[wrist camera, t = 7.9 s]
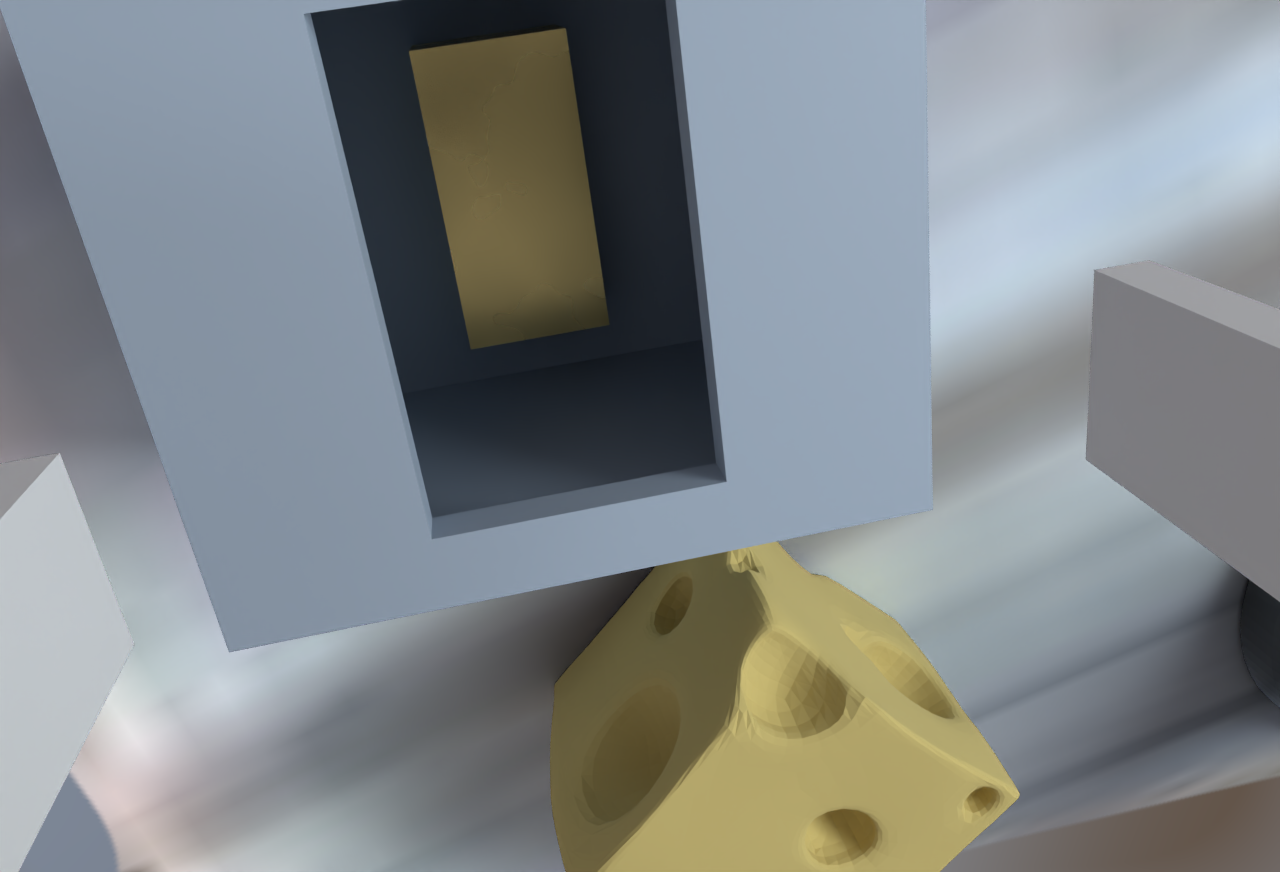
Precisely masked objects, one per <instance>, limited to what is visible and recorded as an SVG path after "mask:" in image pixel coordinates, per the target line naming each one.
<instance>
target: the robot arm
mask: <svg viewBox="0 0 1280 872" xmlns="http://www.w3.org/2000/svg"><path fill="white" fill-rule="evenodd" d="M1086 460H1087V461H1088V462H1090V463H1091V464H1093V465H1094V466H1095V467H1097V468H1098V469H1099V470H1101V471H1102V472H1103V473H1105V474H1106V475H1108V476H1109V477H1110V478H1112V479H1113V480H1114V481H1116V482H1117V483H1118V484H1120V485H1121V486H1123V487H1124V488H1125V489H1127V490H1128V491H1129V492H1131V493H1132V494H1133V495H1135V496H1136V497H1138V498H1139V499H1140V500H1142V501H1143V502H1144V503H1146V504H1147V505H1148V506H1150V507H1151V508H1153V509H1154V510H1155V511H1157V512H1158V513H1159V514H1161V515H1162V516H1163V517H1165V518H1166V519H1168V520H1169V521H1170V522H1172V523H1173V524H1174V525H1176V526H1177V527H1178V528H1180V529H1181V530H1182V531H1184V532H1185V533H1187V534H1188V535H1189V536H1191V537H1192V538H1193V539H1195V540H1196V541H1197V542H1199V543H1200V544H1202V545H1203V546H1204V547H1206V548H1207V549H1208V550H1210V551H1211V552H1212V553H1214V554H1215V555H1217V556H1218V557H1219V558H1221V559H1222V560H1223V561H1225V562H1226V563H1227V564H1229V565H1230V566H1232V567H1233V568H1234V569H1236V570H1237V571H1238V572H1240V573H1241V574H1242V575H1244V576H1245V577H1247V578H1248V579H1249V583H1248V586H1247V589H1246V593H1245V597H1244V602H1243V608H1242V615H1241V643H1242V649H1243V655H1244V658H1245V662H1246V665H1247V667H1248V670H1249V672H1250V674H1251V676H1252V678H1253V680H1254V681H1255V683H1256V684H1257V686H1258V687H1259V688H1260V690H1261V691H1262V692H1263V693H1264V694H1265V695H1266V696H1267V697H1268V698H1269V699H1270V700H1271V701H1272V702H1274V703H1275V704H1276V705H1277V706H1278V707H1279V708H1280V309H1277V308H1275V307H1272V306H1270V305H1267V304H1264V303H1262V302H1259V301H1256V300H1254V299H1251V298H1248V297H1246V296H1243V295H1240V294H1238V293H1235V292H1232V291H1230V290H1227V289H1224V288H1222V287H1219V286H1216V285H1214V284H1211V283H1208V282H1206V281H1203V280H1200V279H1198V278H1195V277H1192V276H1190V275H1187V274H1184V273H1182V272H1179V271H1176V270H1174V269H1171V268H1168V267H1166V266H1163V265H1160V264H1158V263H1155V262H1152V261H1150V260H1148V261H1142V262H1137V263H1131V264H1125V265H1120V266H1114V267H1108V268H1103V269H1097V270H1094V290H1093V312H1092V334H1091V356H1090V378H1089V400H1088V422H1087V444H1086ZM133 646H134V642H133V639H132V637H131V634H130V632H129V629H128V627H127V624H126V621H125V619H124V616H123V614H122V611H121V609H120V606H119V604H118V601H117V598H116V596H115V593H114V591H113V588H112V586H111V583H110V580H109V578H108V575H107V573H106V570H105V568H104V565H103V563H102V560H101V557H100V555H99V552H98V550H97V547H96V545H95V542H94V540H93V537H92V534H91V532H90V529H89V527H88V524H87V522H86V519H85V517H84V514H83V511H82V509H81V506H80V504H79V501H78V499H77V496H76V494H75V491H74V488H73V486H72V483H71V481H70V478H69V476H68V473H67V471H66V468H65V465H64V463H63V460H62V458H61V455H60V453H56V454H51V455H45V456H39V457H34V458H28V459H22V460H17V461H11V462H5V463H0V872H18V871H19V869H20V867H21V865H22V864H23V862H24V860H25V858H26V856H27V854H28V852H29V850H30V848H31V846H32V844H33V842H34V840H35V838H36V836H37V834H38V832H39V830H40V828H41V826H42V824H43V822H44V820H45V818H46V817H47V815H48V813H49V811H50V809H51V807H52V805H53V803H54V801H55V799H56V797H57V795H58V793H59V791H60V789H61V787H62V785H63V783H64V781H65V779H66V777H67V775H68V774H69V772H70V770H71V768H72V766H73V764H74V762H75V760H76V758H77V756H78V754H79V752H80V750H81V748H82V746H83V744H84V742H85V740H86V738H87V736H88V734H89V732H90V730H91V729H92V727H93V725H94V723H95V721H96V719H97V717H98V715H99V713H100V711H101V709H102V707H103V705H104V703H105V701H106V699H107V697H108V695H109V693H110V691H111V689H112V687H113V685H114V684H115V682H116V680H117V678H118V676H119V674H120V672H121V670H122V668H123V666H124V664H125V662H126V660H127V658H128V656H129V654H130V652H131V650H132V648H133Z"/></svg>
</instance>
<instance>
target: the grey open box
mask: <svg viewBox="0 0 1280 872" xmlns="http://www.w3.org/2000/svg"><path fill="white" fill-rule="evenodd" d="M0 9H1V12H2V15H3V18H4V21H5V24H6V26H7V29H8V32H9V35H10V38H11V40H12V43H13V46H14V49H15V52H16V54H17V57H18V60H19V63H20V66H21V69H22V71H23V74H24V77H25V80H26V83H27V85H28V88H29V91H30V94H31V97H32V99H33V102H34V105H35V108H36V111H37V114H38V116H39V119H40V122H41V125H42V128H43V130H44V133H45V136H46V139H47V142H48V144H49V147H50V150H51V153H52V156H53V158H54V161H55V164H56V167H57V170H58V173H59V175H60V178H61V181H62V184H63V187H64V189H65V192H66V195H67V198H68V201H69V203H70V206H71V209H72V212H73V215H74V218H75V220H76V223H77V226H78V229H79V232H80V234H81V237H82V240H83V243H84V246H85V248H86V251H87V254H88V257H89V260H90V263H91V265H92V268H93V271H94V274H95V277H96V279H97V282H98V285H99V288H100V291H101V293H102V296H103V299H104V302H105V305H106V307H107V310H108V313H109V316H110V319H111V322H112V324H113V327H114V330H115V333H116V336H117V338H118V341H119V344H120V347H121V350H122V352H123V355H124V358H125V361H126V364H127V367H128V369H129V372H130V375H131V378H132V381H133V383H134V386H135V389H136V392H137V395H138V397H139V400H140V403H141V406H142V409H143V412H144V414H145V417H146V420H147V423H148V426H149V428H150V431H151V434H152V437H153V440H154V442H155V445H156V448H157V451H158V454H159V456H160V459H161V462H162V465H163V468H164V471H165V473H166V476H167V479H168V482H169V485H170V487H171V490H172V493H173V496H174V499H175V501H176V504H177V507H178V510H179V513H180V516H181V518H182V521H183V524H184V527H185V530H186V532H187V535H188V538H189V541H190V544H191V546H192V549H193V552H194V555H195V558H196V561H197V563H198V566H199V569H200V572H201V575H202V577H203V580H204V583H205V586H206V589H207V591H208V594H209V597H210V600H211V603H212V605H213V608H214V611H215V614H216V617H217V620H218V622H219V625H220V628H221V631H222V634H223V636H224V639H225V642H226V645H227V648H228V650H229V652H233V651H238V650H243V649H248V648H253V647H258V646H263V645H268V644H273V643H278V642H283V641H287V640H292V639H297V638H302V637H307V636H312V635H317V634H322V633H327V632H332V631H337V630H342V629H347V628H352V627H357V626H362V625H367V624H371V623H376V622H381V621H386V620H391V619H396V618H401V617H406V616H411V615H416V614H421V613H426V612H431V611H436V610H441V609H446V608H450V607H455V606H460V605H465V604H470V603H475V602H480V601H485V600H490V599H495V598H500V597H505V596H510V595H515V594H520V593H525V592H529V591H534V590H539V589H544V588H549V587H554V586H559V585H564V584H569V583H574V582H579V581H584V580H589V579H594V578H599V577H604V576H608V575H613V574H618V573H623V572H628V571H633V570H638V569H643V568H648V567H653V566H658V565H663V564H668V563H673V562H678V561H683V560H687V559H692V558H697V557H702V556H707V555H712V554H717V553H722V552H727V551H732V550H737V549H742V548H747V547H752V546H757V545H762V544H766V543H771V542H776V541H781V540H786V539H791V538H796V537H801V536H806V535H811V534H816V533H821V532H826V531H831V530H836V529H841V528H846V527H850V526H855V525H860V524H865V523H870V522H875V521H880V520H885V519H890V518H895V517H900V516H905V515H910V514H915V513H920V512H925V511H929V510H933V492H932V419H931V346H930V273H929V200H928V127H927V54H926V0H0ZM553 24H556V25H558V26H561V27H564V28H566V33H567V40H568V47H569V54H570V60H571V67H572V74H573V81H574V87H575V94H576V101H577V108H578V115H579V121H580V128H581V135H582V142H583V148H584V155H585V162H586V169H587V175H588V182H589V189H590V196H591V203H592V209H593V216H594V223H595V230H596V236H597V243H598V250H599V257H600V263H601V270H602V277H603V284H604V290H605V297H606V304H607V311H608V318H609V324H610V325H606V326H601V327H595V328H590V329H584V330H578V331H573V332H567V333H561V334H556V335H550V336H545V337H539V338H533V339H528V340H522V341H516V342H511V343H505V344H500V345H494V346H488V347H483V348H477V349H471V348H470V343H469V338H468V334H467V329H466V324H465V319H464V314H463V309H462V305H461V300H460V295H459V290H458V285H457V281H456V276H455V271H454V266H453V261H452V257H451V252H450V247H449V242H448V237H447V233H446V228H445V223H444V218H443V213H442V209H441V204H440V199H439V194H438V189H437V184H436V180H435V175H434V170H433V165H432V160H431V156H430V151H429V146H428V141H427V136H426V132H425V127H424V122H423V117H422V112H421V108H420V103H419V98H418V93H417V88H416V84H415V79H414V74H413V69H412V64H411V59H410V55H409V50H410V48H411V47H412V45H417V44H423V43H430V42H437V41H444V40H451V39H457V38H464V37H471V36H478V35H485V34H491V33H498V32H505V31H512V30H519V29H525V28H532V27H539V26H546V25H553Z"/></svg>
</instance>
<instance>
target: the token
mask: <svg viewBox="0 0 1280 872" xmlns="http://www.w3.org/2000/svg"><path fill="white" fill-rule="evenodd" d="M409 55H410V59H411V64H412V69H413V74H414V79H415V84H416V88H417V93H418V98H419V103H420V108H421V112H422V117H423V122H424V127H425V132H426V136H427V141H428V146H429V151H430V156H431V160H432V165H433V170H434V175H435V180H436V184H437V189H438V194H439V199H440V204H441V209H442V213H443V218H444V223H445V228H446V233H447V237H448V242H449V247H450V252H451V257H452V261H453V266H454V271H455V276H456V281H457V285H458V290H459V295H460V300H461V305H462V309H463V314H464V319H465V324H466V329H467V334H468V338H469V343H470V348H471V349H477V348H483V347H488V346H494V345H500V344H505V343H511V342H516V341H522V340H528V339H533V338H539V337H545V336H550V335H556V334H561V333H567V332H573V331H578V330H584V329H590V328H595V327H601V326H606V325H610V324H609V318H608V311H607V304H606V297H605V290H604V284H603V277H602V270H601V263H600V257H599V250H598V243H597V236H596V230H595V223H594V216H593V209H592V203H591V196H590V189H589V182H588V175H587V169H586V162H585V155H584V148H583V142H582V135H581V128H580V121H579V115H578V108H577V101H576V94H575V87H574V81H573V74H572V67H571V60H570V54H569V47H568V40H567V33H566V28H564V27H561V26H558V25H556V24H553V25H546V26H539V27H532V28H525V29H519V30H512V31H505V32H498V33H491V34H485V35H478V36H471V37H464V38H457V39H451V40H444V41H437V42H430V43H423V44H417V45H412V47H411V48H410V50H409Z"/></svg>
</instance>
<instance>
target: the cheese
mask: <svg viewBox="0 0 1280 872" xmlns="http://www.w3.org/2000/svg"><path fill="white" fill-rule="evenodd" d="M550 787H551V804H552V812H553V819H554V824H555V830H556V834H557V839H558V844H559V848H560V852H561V856H562V860H563V864H564V867H565V871H566V872H940V871H941V870H942V869H943V868H944V867H945V866H946V865H947V864H948V863H949V862H950V861H951V860H952V859H954V858H955V857H956V856H957V855H958V854H959V853H960V852H961V851H962V850H963V849H964V848H965V847H966V846H967V845H968V844H969V843H971V842H972V841H973V840H974V839H975V838H976V837H977V836H978V835H979V834H980V833H981V832H983V831H984V830H985V829H986V828H987V827H988V826H989V825H991V824H992V823H993V822H994V821H995V820H996V819H997V818H998V817H999V816H1000V815H1001V814H1002V813H1003V812H1005V811H1006V810H1007V809H1008V808H1009V807H1010V806H1011V805H1012V804H1013V803H1014V802H1015V801H1016V800H1017V799H1018V798H1019V796H1020V794H1019V791H1018V790H1017V788H1016V786H1015V785H1014V783H1013V781H1012V780H1011V778H1010V777H1009V775H1008V774H1007V772H1006V770H1005V769H1004V767H1003V766H1002V764H1001V763H1000V761H999V759H998V758H997V756H996V755H995V753H994V752H993V750H992V749H991V747H990V746H989V744H988V743H987V742H986V740H985V739H984V737H983V736H982V734H981V733H980V732H979V730H978V729H977V727H976V726H975V725H974V724H973V723H972V722H971V720H970V719H969V718H968V716H967V715H966V714H965V712H964V711H963V710H962V708H961V707H960V705H959V704H958V702H957V701H956V699H955V698H954V696H953V695H952V693H951V692H950V690H949V689H948V688H947V686H946V685H945V683H944V682H943V680H942V679H941V677H940V676H939V674H938V673H937V671H936V670H935V669H934V667H933V666H932V665H931V663H930V662H929V660H928V659H927V658H926V656H925V655H924V654H923V653H922V651H921V650H920V649H919V648H918V646H917V645H916V644H915V643H914V641H913V640H912V639H911V638H910V637H909V635H908V634H907V633H906V632H905V631H904V629H903V628H902V627H901V626H900V624H899V623H898V622H897V621H896V620H895V619H893V618H892V617H890V616H889V615H887V614H886V613H884V612H883V611H881V610H880V609H878V608H877V607H875V606H873V605H872V604H870V603H869V602H867V601H866V600H864V599H863V598H861V597H859V596H858V595H856V594H855V593H853V592H852V591H850V590H848V589H847V588H845V587H844V586H842V585H841V584H839V583H837V582H835V581H833V580H832V579H830V578H828V577H826V576H821V575H815V574H810V573H809V572H808V571H806V570H805V569H804V568H803V567H801V566H800V565H799V564H798V563H797V562H796V561H795V560H793V559H792V558H791V557H790V556H789V554H788V553H787V552H786V551H785V550H784V549H783V548H782V547H781V545H780V544H779V543H778V542H777V541H776V542H771V543H766V544H762V545H757V546H752V547H747V548H742V549H737V550H732V551H727V552H722V553H717V554H712V555H707V556H702V557H697V558H692V559H687V560H683V561H678V562H673V563H668V564H663V565H658V566H655V567H654V569H653V570H652V571H651V572H650V573H649V575H648V576H647V577H646V578H645V579H644V580H643V581H642V583H641V584H640V585H639V586H638V587H637V588H636V590H635V591H634V592H633V593H632V595H631V596H630V597H629V598H628V600H627V601H626V602H625V603H624V604H623V606H622V607H621V608H620V609H619V610H618V611H617V613H616V614H615V615H614V616H613V617H612V618H611V620H610V621H609V622H608V623H607V624H606V625H605V627H604V628H603V629H602V630H601V631H600V632H599V634H598V635H597V636H596V637H595V638H594V639H593V641H592V642H591V643H590V644H589V645H588V646H587V647H586V649H585V650H584V651H583V652H582V653H581V654H580V655H579V656H578V657H577V659H576V660H575V661H574V662H573V663H572V664H571V665H570V666H569V668H568V669H567V670H566V671H565V672H564V673H563V675H562V676H561V677H560V678H559V680H558V681H557V682H556V683H555V685H554V706H553V716H552V726H551V742H550Z"/></svg>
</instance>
